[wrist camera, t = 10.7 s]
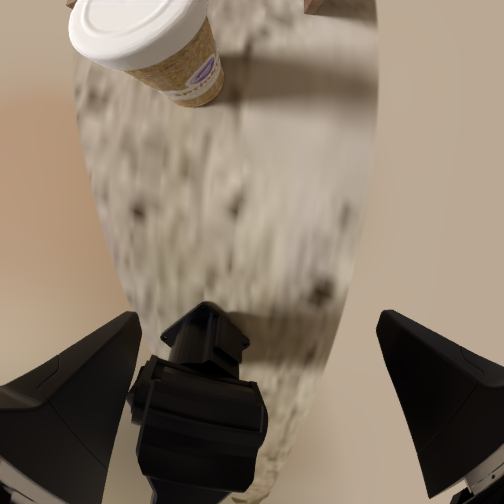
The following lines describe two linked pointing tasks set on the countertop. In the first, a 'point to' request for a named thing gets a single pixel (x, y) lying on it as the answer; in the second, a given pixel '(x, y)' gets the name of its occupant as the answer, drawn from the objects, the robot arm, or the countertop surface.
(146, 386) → the robot arm
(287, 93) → the countertop surface
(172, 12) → the sprinkles bottle
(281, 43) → the countertop surface
